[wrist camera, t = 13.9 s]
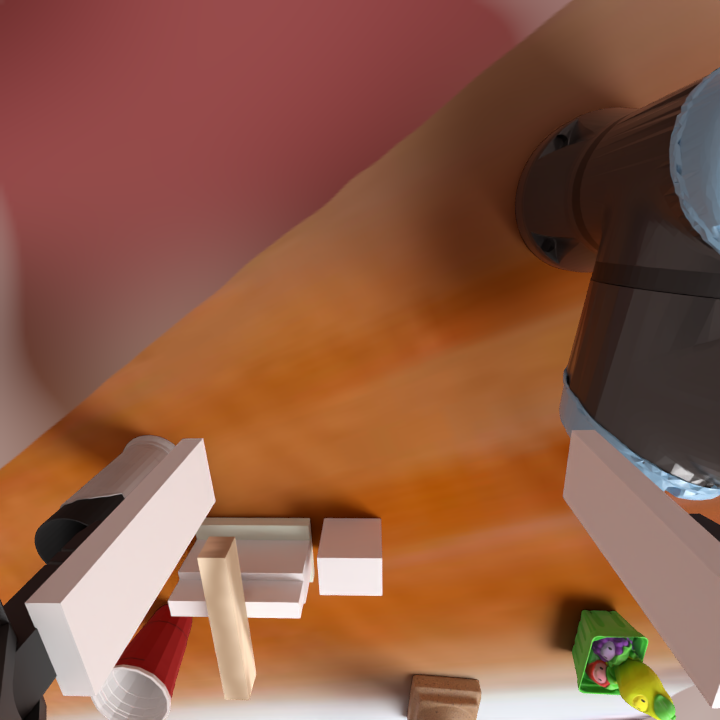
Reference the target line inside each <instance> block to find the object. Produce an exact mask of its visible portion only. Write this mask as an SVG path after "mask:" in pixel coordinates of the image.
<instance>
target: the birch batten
mask: <svg viewBox="0 0 720 720" xmlns="http://www.w3.org/2000/svg"><path fill="white" fill-rule="evenodd" d="M197 559H198V565H199V570H200V575H201V580H202V585H203V590H204V595H205V600H206V605H207V610H208V616H209V621H210V626H211V631H212V636H213V641H214V646H215V651H216V656H217V661H218V667H219V672H220V677H221V682H222V687H223V692H224V697H225V700H249V699H250V695H251V691H252V688H253V684H254V680H255V676H256V669H255V662H254V656H253V649H252V643H251V636H250V630H249V623H248V617H247V611H246V604H245V598H244V591H243V585H242V578H241V572H240V565H239V559H238V552H237V546H236V539H235V537H208V539H207V541H206V543H205V544H204V546H203V548H202V550H201V552H200V554H199V555H198V557H197Z"/></svg>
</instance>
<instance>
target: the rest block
mask: <svg viewBox="0 0 720 720" xmlns="http://www.w3.org/2000/svg"><path fill="white" fill-rule="evenodd" d="M317 563H318V576H319V589H320V595H369V596H382V539H381V518H324V522H323V528H322V533H321V539H320V545H319V550H318V556H317Z"/></svg>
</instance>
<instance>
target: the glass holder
mask: <svg viewBox="0 0 720 720" xmlns="http://www.w3.org/2000/svg"><path fill="white" fill-rule="evenodd" d="M174 447H175V445H174V444H173V443H171V442H170V441H168V440H166V439H164V438H162V437H158V436H153V435H144V436H139V437H137V438H134V439H133V440H131V441H130V442H129V443H128V444H127V445H126V447H125V448H124V451H123V453H121V454H120V455H119V456H118V457H117V458H116V459H114V460H113V461H112V462H111V463H110V464H109V465H107V466H106V467H105V468H104V469H103V470H102V471H101V472H99V473H98V474H97V475H96V476H95V477H94V478H92V479H91V480H90V481H89V482H88V483H87V484H85V485H84V486H83V487H82V488H81V489H80V490H79V491H77V492H76V493H75V494H74V495H73V496H72V497H70V498H69V499H68V500H67V501H66V502H65V503H63V504H62V505H61V507H60V509H59V510H58V511H57V512H56V513H55V514H53V515H52V516H51V517H50V518H49V519H48V520H47V521H45V522H44V523H43V524H42V525H41V526H40V527H39V528H38V530H37V532H36V535H35V546H36V549H37V552H38V554H39V555H40V557H41V558H42V560H43V561H44V562H45V563H46V564H47V565H48V563H49V561H50V560H51V559H52V558H53V557H54V556H55V555H56V554H57V553H58V552H61V550H62V548H63V547H64V546H65V545H66V544H67V543H68V542H69V541H70V540H71V539H72V538H73V537H74V536H75V535H76V534H77V533H78V532H80V531H82V530H83V529H85V528H86V527H88V526H89V525H91V524H92V523H94V522H95V521H97V520H105V519H106V518H107V517H108V516H109V515H110V514H111V513H112V512H113V511H114V510H115V509H116V508H117V507H118V506H119V505H120V503H121V502H122V501H123V500H124V499H125V498H126V497H127V496H128V495H129V494H130V493H131V492H132V491H133V490H134V489H135V488H136V487H137V486H138V485H139V484H140V483H141V482H142V481H143V480H144V479H145V478H146V476H147V475H148V474H149V473H150V472H151V471H152V470H153V469H154V468H155V467H156V466H157V465H158V464H159V463H160V462H161V461H162V460H163V459H164V458H165V457H166V456H167V455H168V454H169V453H170V452H171V451H172V449H173V448H174Z"/></svg>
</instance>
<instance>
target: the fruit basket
mask: <svg viewBox="0 0 720 720" xmlns="http://www.w3.org/2000/svg"><path fill="white" fill-rule="evenodd" d="M647 646H648V639H647V638H645V637H644V636H643V635H642V634H641V633H639V632H637V631H636V630H635V629H634V628H633V627H632V626H631V625H630V624H629V623H628V622H627V621H626V620H625V619H624V618H623V617H622V616H621V615H619V614H618V613H617V612H616V611H610V612H608V611H599V610H592V611H588V610H582V613H581V620H580V622H579V625H578V632H577V634H576V637H575V644H574V646H573V649H572V655H573V659H574V664H575V669H576V674H577V678H578V680H577V683H578V688H579V691H580V692H582V693H590V694H611V695H621V697H622V698H623V699H624V700H625V701H626V702H627V703H628V704H629V705H630V706H632V707H634V708H635V709H637V710H639V711H641V712H643V713H646V714H648V715H650V716H652V717H653V718H655V719H658V720H670V719H672V720H675V718H676V716H675V707H674V705H673V702H672V699H671V698H670V696H669V695H668V693H667V692H666V691H665V689H664V687H663V685H662V683H661V681H660V679H659V678H658V676H657V675H656V674H655V673H654V671H653V670H652V669H651V668H650V667H648V666H647V665H646V664H644V663H643V658H644V655H645V652H646V649H647Z"/></svg>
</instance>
